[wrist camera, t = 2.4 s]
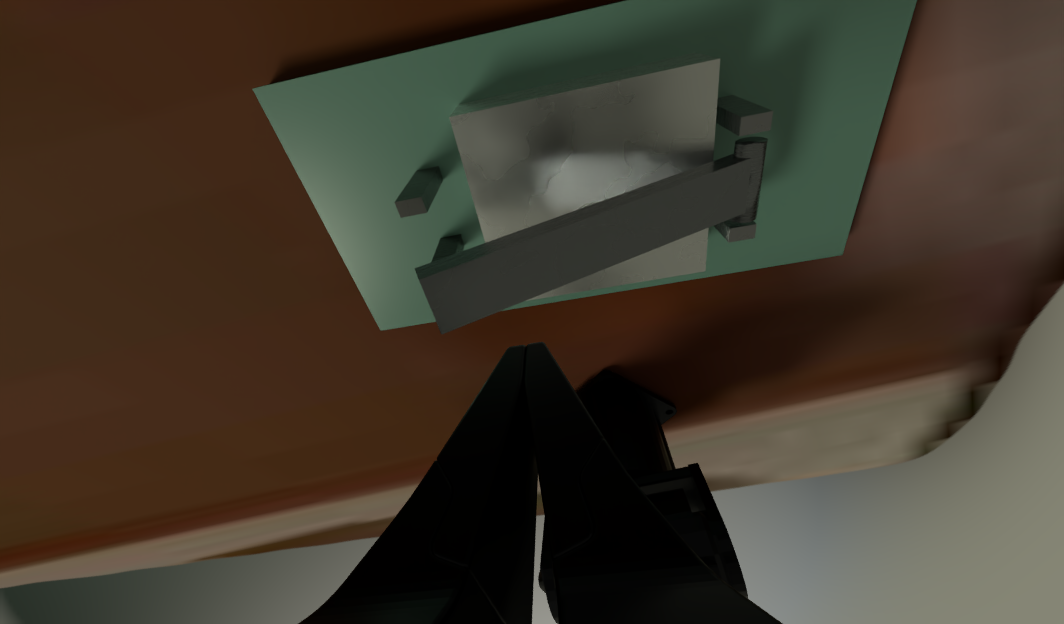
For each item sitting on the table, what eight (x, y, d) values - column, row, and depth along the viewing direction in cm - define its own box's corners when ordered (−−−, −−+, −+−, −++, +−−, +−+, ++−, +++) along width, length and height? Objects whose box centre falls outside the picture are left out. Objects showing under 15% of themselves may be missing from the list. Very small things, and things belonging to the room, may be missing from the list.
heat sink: (737, 43, 15) (789, 50, 12) (719, 240, 19) (753, 279, 17) (397, 117, 16) (369, 140, 13) (457, 285, 21) (446, 329, 18)
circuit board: (910, -68, 14) (938, -74, 13) (828, 243, 21) (842, 254, 20) (268, 84, 16) (252, 88, 15) (386, 317, 23) (380, 330, 22)
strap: (751, 134, 14) (775, 139, 14) (742, 209, 16) (762, 216, 15) (409, 255, 12) (414, 269, 11) (440, 329, 13) (446, 345, 13)
